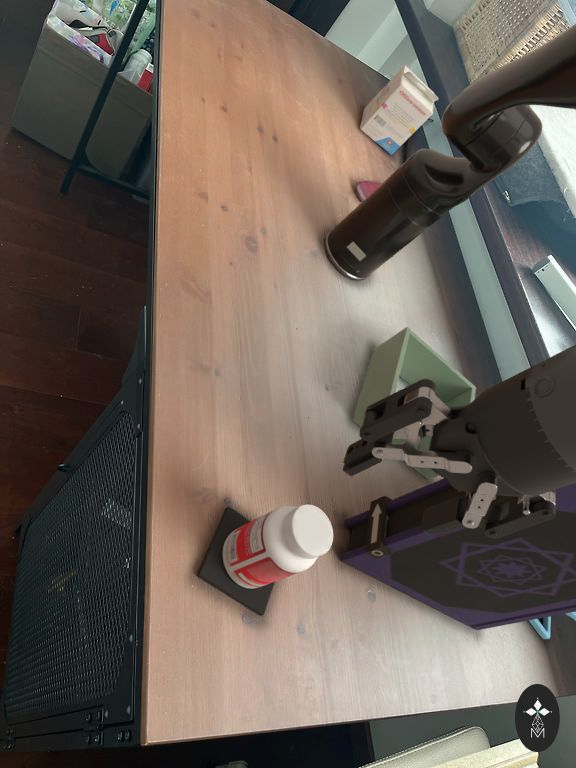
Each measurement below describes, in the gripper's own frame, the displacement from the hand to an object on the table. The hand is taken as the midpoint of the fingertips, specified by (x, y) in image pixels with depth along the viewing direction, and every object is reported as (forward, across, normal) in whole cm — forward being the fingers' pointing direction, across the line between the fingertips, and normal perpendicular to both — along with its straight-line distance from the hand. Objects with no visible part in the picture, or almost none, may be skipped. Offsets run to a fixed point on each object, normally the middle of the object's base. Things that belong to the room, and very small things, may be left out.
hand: (387, 494), depth 49 cm
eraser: (+22, +1, -74) cm, 78 cm away
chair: (+21, -44, -18) cm, 52 cm away
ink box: (+22, +6, -94) cm, 97 cm away
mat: (+21, 0, +1) cm, 21 cm away
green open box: (+21, -15, -32) cm, 42 cm away
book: (+21, -22, -10) cm, 33 cm away
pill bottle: (+21, 0, 0) cm, 21 cm away
